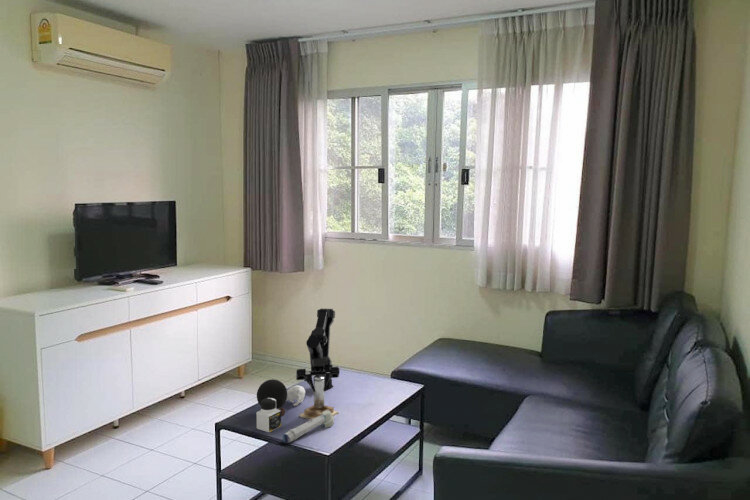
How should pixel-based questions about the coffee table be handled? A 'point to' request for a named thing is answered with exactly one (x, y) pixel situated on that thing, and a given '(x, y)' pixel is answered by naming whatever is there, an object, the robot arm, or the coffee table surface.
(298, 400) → the white rounded lump
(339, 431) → the coffee table surface
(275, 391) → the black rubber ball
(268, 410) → the medicine bottle
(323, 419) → the octagon-capped white rod
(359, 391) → the coffee table surface
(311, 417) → the jig
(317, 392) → the metal canister
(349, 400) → the coffee table surface
